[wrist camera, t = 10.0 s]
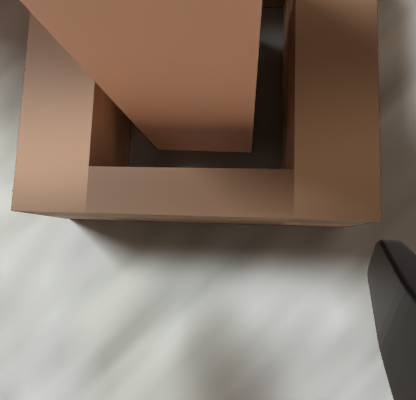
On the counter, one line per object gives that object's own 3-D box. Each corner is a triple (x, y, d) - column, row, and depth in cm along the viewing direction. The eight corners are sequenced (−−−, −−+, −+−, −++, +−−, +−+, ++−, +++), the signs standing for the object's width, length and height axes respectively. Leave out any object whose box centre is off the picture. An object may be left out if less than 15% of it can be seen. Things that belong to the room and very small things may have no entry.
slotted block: (344, 226, 15) (381, 220, 11) (69, 218, 16) (11, 210, 12) (342, -28, 16) (374, -117, 12) (87, -18, 17) (40, -96, 13)
